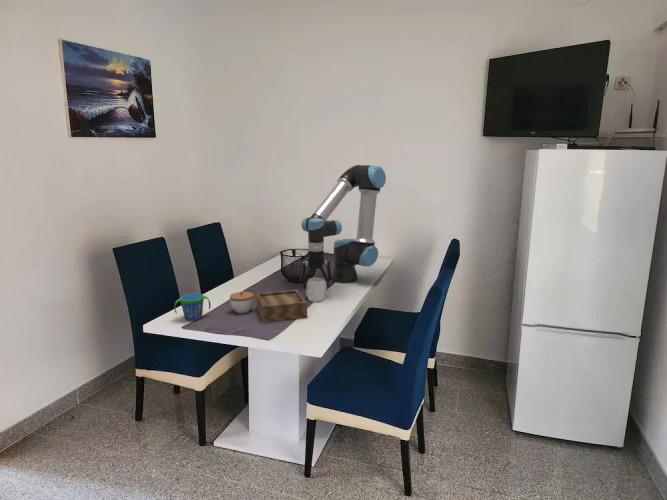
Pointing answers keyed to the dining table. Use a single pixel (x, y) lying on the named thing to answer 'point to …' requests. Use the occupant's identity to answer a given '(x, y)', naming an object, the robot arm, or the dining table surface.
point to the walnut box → (281, 306)
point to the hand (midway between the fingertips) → (316, 294)
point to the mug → (316, 289)
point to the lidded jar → (241, 301)
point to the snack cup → (192, 305)
